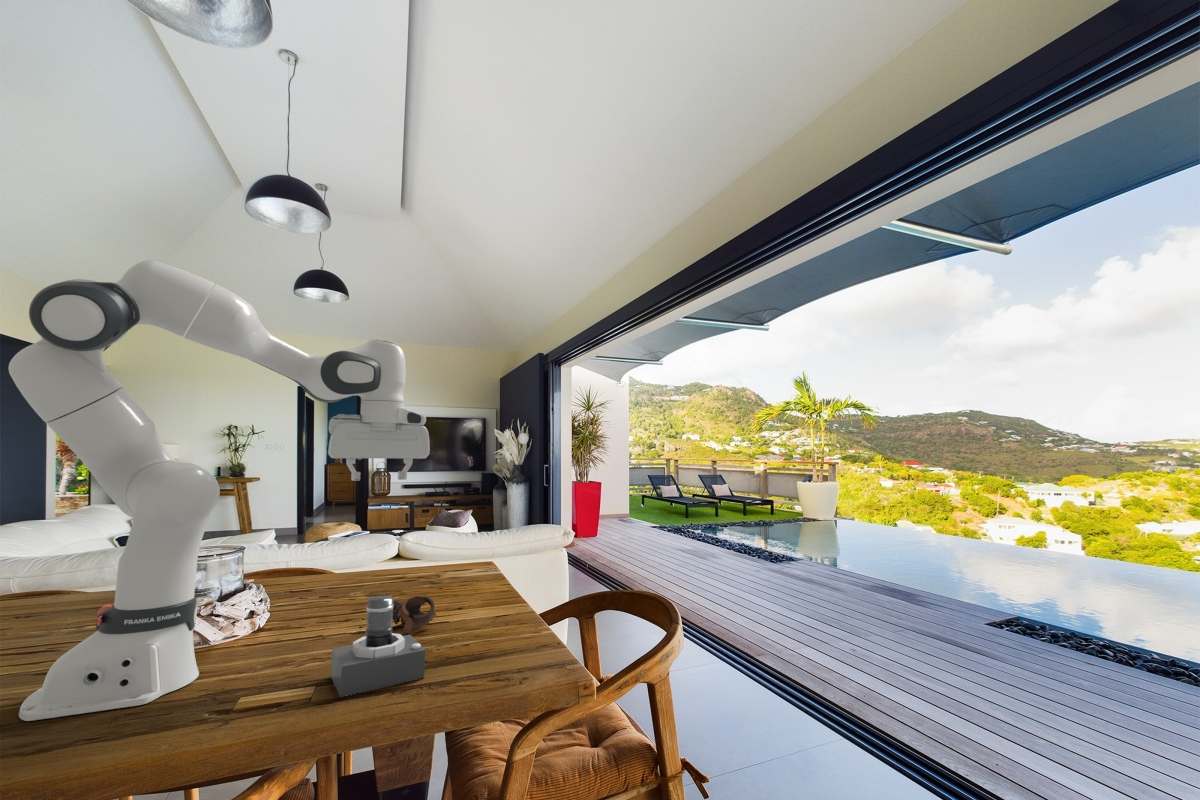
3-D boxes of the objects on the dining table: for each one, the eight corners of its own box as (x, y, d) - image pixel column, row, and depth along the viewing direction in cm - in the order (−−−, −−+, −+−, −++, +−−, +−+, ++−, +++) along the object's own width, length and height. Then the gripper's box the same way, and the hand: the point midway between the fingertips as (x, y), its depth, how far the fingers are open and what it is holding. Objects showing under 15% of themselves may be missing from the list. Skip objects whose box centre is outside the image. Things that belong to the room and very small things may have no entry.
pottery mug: (437, 621, 132) (443, 596, 129) (424, 651, 123) (430, 625, 120) (389, 609, 131) (394, 583, 128) (372, 639, 122) (377, 612, 119)
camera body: (340, 697, 89) (342, 657, 90) (330, 677, 98) (332, 640, 98) (424, 678, 97) (425, 641, 98) (409, 660, 105) (410, 626, 106)
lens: (367, 655, 95) (369, 603, 96) (362, 647, 99) (364, 597, 100) (394, 650, 97) (396, 599, 98) (388, 642, 101) (390, 594, 102)
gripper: (331, 412, 107) (327, 481, 106) (433, 417, 119) (430, 479, 117) (327, 414, 112) (323, 480, 111) (424, 418, 124) (422, 478, 123)
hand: (379, 480), depth 114 cm, fingers open, 8 cm apart
